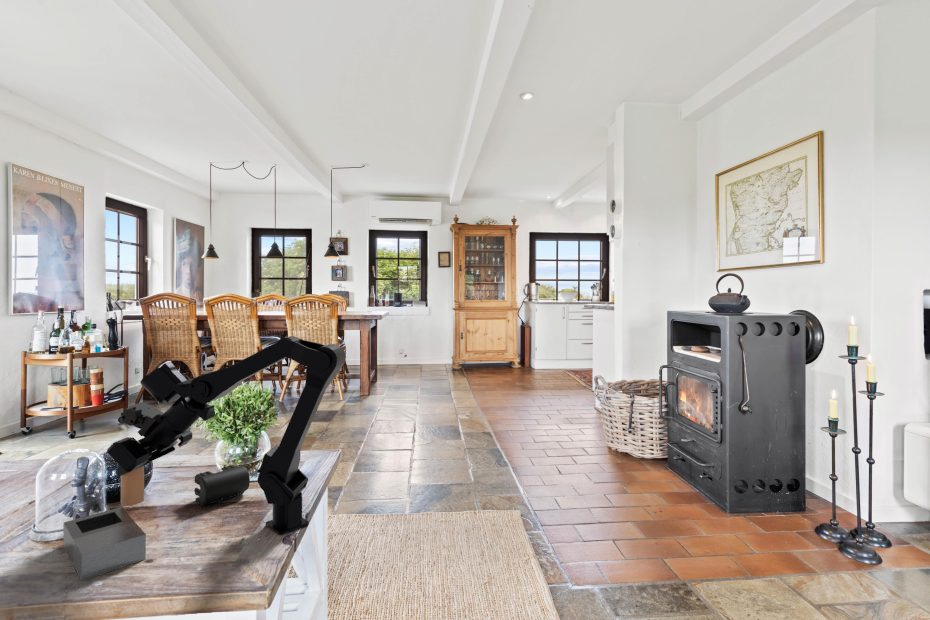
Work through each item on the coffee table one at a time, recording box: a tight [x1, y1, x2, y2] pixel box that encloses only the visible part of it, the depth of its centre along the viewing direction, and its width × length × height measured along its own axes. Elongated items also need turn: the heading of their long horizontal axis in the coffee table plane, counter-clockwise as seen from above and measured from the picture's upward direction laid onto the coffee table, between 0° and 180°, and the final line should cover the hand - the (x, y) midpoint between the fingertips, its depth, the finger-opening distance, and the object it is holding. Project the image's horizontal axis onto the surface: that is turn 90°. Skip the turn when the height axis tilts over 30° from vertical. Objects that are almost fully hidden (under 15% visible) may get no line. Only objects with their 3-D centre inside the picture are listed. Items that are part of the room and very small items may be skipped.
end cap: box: [193, 464, 251, 507], centre depth 109 cm, size 10×7×7 cm
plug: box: [120, 465, 145, 507], centre depth 98 cm, size 4×4×12 cm
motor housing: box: [62, 506, 147, 582], centre depth 86 cm, size 16×9×4 cm, turn 49°
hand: (126, 470), depth 98 cm, fingers closed on plug, 4 cm apart
